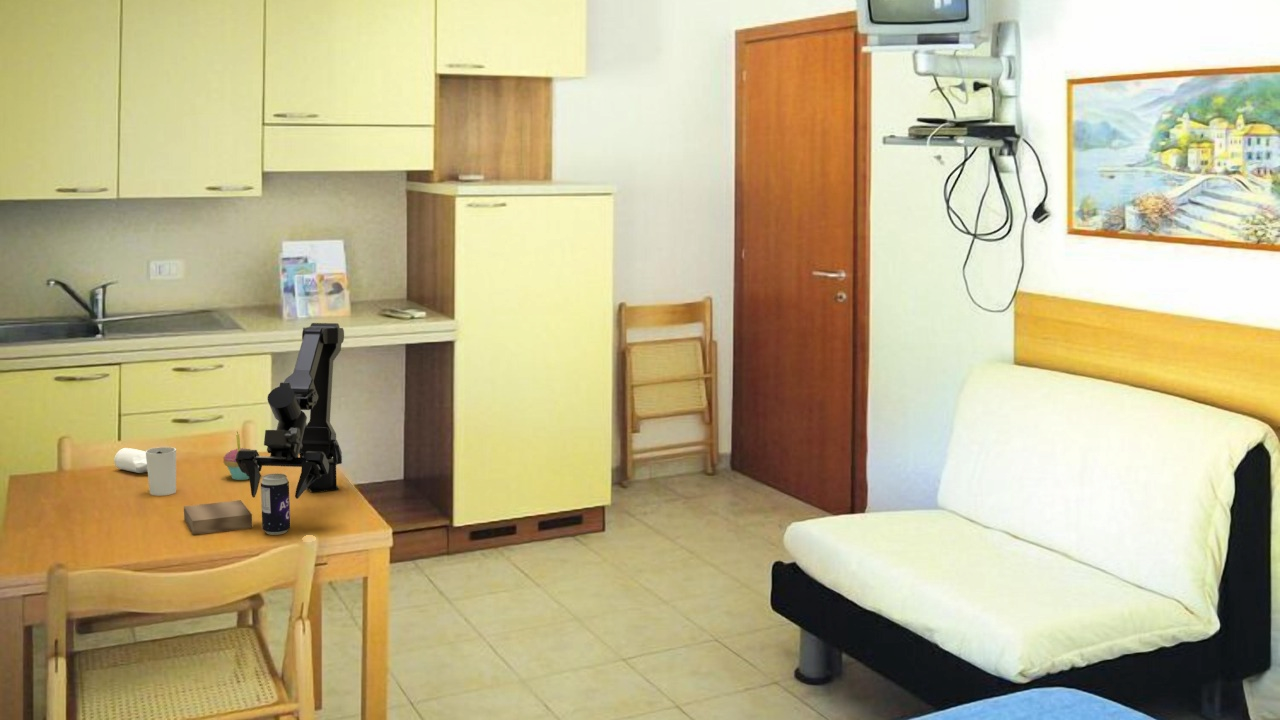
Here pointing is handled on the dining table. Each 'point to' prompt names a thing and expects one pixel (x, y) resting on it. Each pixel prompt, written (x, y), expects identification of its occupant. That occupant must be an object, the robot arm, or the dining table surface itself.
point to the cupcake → (232, 464)
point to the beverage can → (275, 504)
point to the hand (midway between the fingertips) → (274, 497)
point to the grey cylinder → (161, 470)
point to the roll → (131, 460)
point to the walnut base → (217, 517)
